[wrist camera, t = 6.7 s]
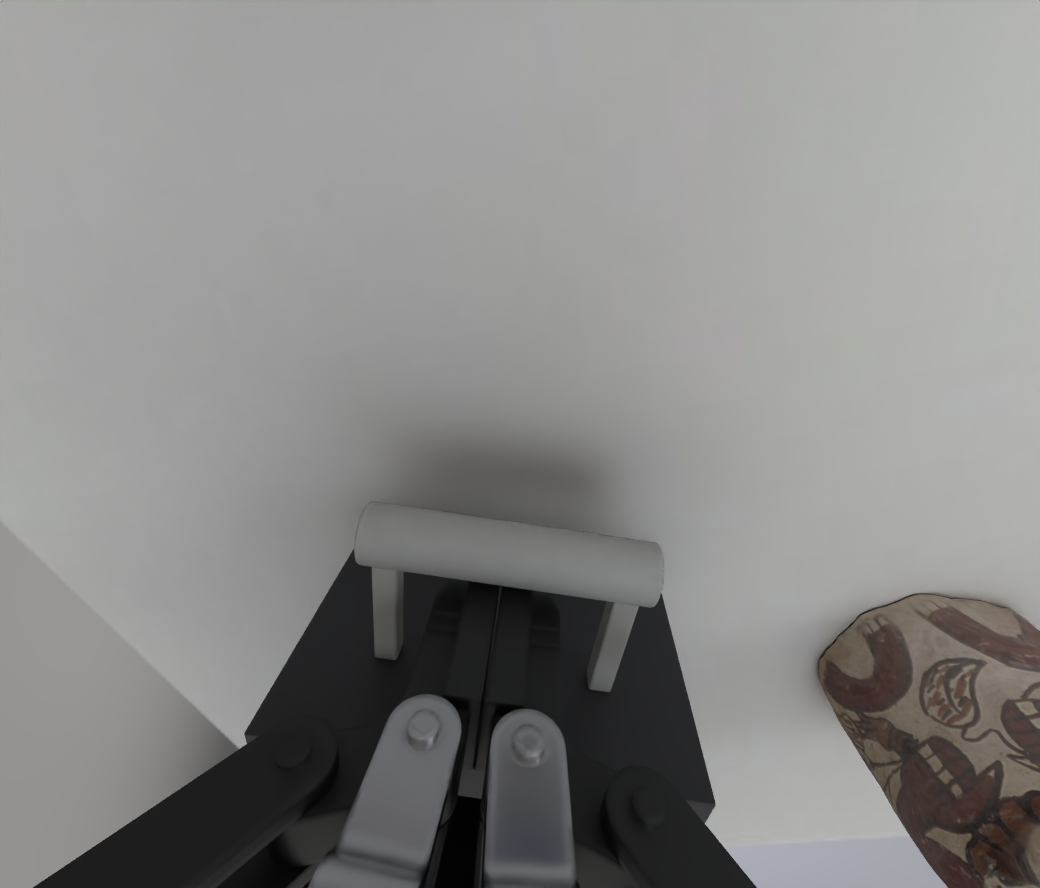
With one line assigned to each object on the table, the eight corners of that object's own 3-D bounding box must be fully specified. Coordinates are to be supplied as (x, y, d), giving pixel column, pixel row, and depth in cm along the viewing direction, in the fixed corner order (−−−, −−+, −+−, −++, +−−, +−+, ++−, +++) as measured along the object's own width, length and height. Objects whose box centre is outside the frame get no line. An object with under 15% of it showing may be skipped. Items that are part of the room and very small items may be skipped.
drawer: (354, 415, 14) (201, 577, 8) (697, 465, 14) (801, 666, 8) (370, 745, 22) (299, 950, 16) (589, 778, 22) (599, 997, 16)
